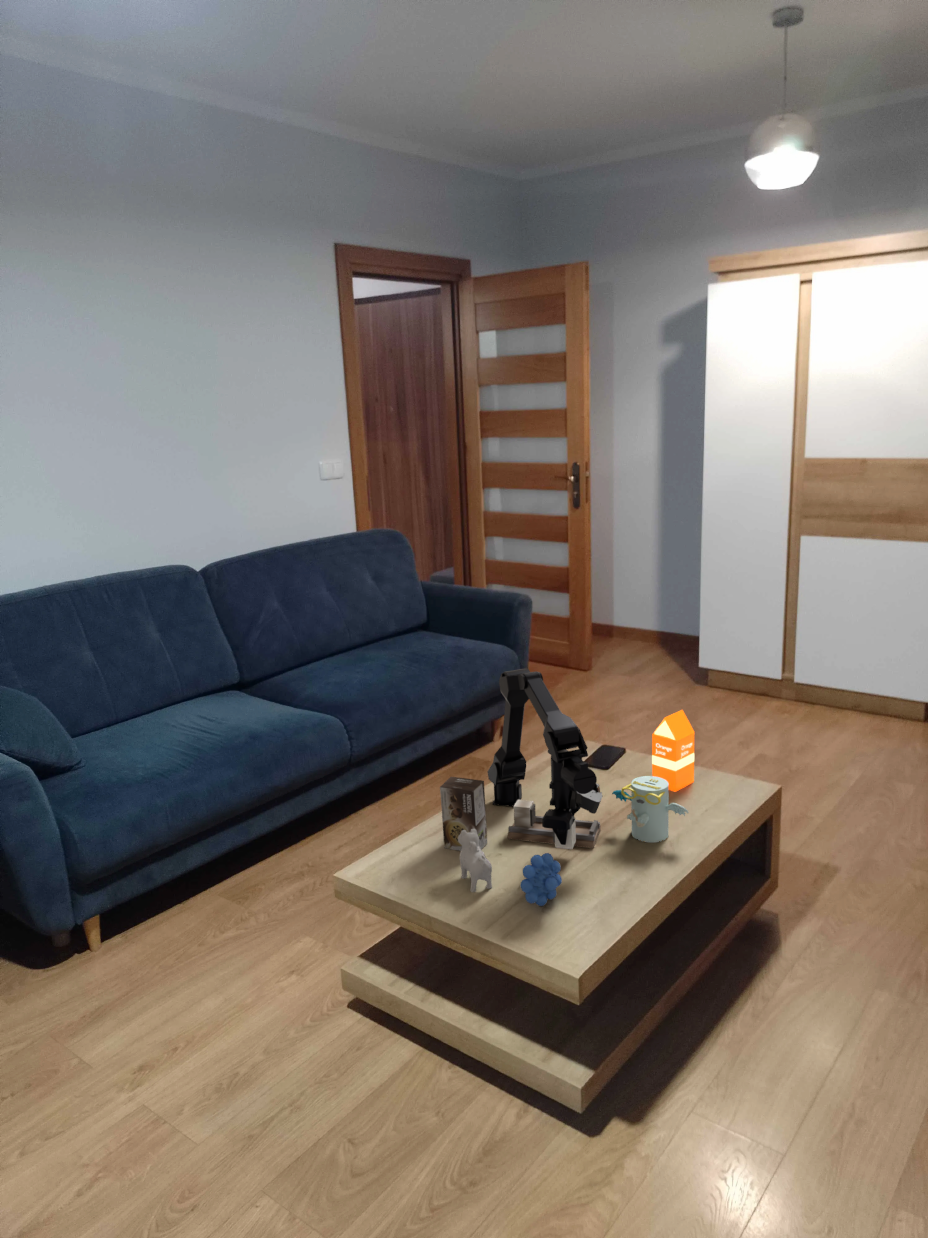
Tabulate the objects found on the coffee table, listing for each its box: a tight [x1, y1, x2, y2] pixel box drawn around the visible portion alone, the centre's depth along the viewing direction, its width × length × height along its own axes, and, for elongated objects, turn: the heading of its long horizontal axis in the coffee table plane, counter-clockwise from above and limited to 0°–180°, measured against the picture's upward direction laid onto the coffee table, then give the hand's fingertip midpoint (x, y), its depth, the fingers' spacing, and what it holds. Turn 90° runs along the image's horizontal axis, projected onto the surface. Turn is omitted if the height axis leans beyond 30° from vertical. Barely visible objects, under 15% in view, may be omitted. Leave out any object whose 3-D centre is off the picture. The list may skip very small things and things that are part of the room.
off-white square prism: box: [553, 816, 576, 850], centre depth 210 cm, size 4×4×6 cm
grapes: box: [520, 852, 563, 907], centre depth 190 cm, size 12×7×12 cm, turn 132°
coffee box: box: [439, 776, 488, 852], centre depth 218 cm, size 9×6×16 cm
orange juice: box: [651, 709, 695, 793], centre depth 246 cm, size 8×9×20 cm
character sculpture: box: [611, 775, 689, 843], centre depth 218 cm, size 20×12×13 cm, turn 52°
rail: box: [507, 799, 602, 849], centre depth 222 cm, size 21×9×8 cm, turn 71°
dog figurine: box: [458, 829, 493, 893], centre depth 203 cm, size 5×13×11 cm, turn 20°
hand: (565, 840), depth 211 cm, fingers closed on off-white square prism, 4 cm apart
